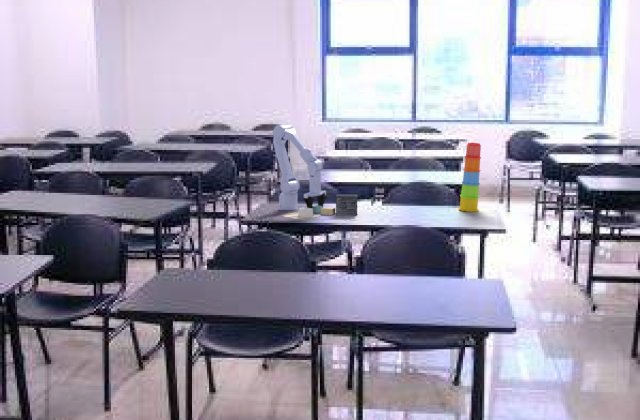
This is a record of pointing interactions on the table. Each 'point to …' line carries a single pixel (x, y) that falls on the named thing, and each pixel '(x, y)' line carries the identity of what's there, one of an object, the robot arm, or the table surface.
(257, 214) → the table surface
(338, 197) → the small box
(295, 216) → the building board
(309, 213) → the white brick
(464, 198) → the stacking cups
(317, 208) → the teal brick
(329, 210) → the mustard brick
